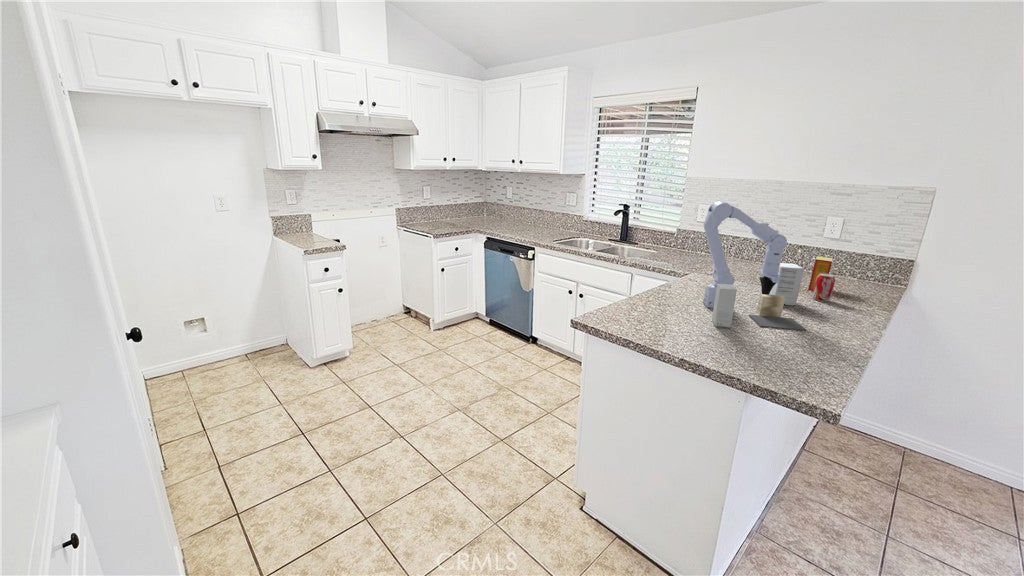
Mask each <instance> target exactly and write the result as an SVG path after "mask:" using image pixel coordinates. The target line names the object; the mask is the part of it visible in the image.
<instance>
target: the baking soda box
mask: <svg viewBox="0 0 1024 576" xmlns="http://www.w3.org/2000/svg"><path fill="white" fill-rule="evenodd" d="M832 263H833V258H832V257H828V256H827V257H826V256H818V255H816V258H815V261H814V264H813V268H812V272H811V276H810V280H809V284H808V289H807V290H808V291H810V290H812V292H813V289H814V285H815V281H816V278H817V276H818V275H819V274H820V273H826V274H830V271H831V267H832Z"/></svg>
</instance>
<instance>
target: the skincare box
mask: <svg viewBox="0 0 1024 576" xmlns="http://www.w3.org/2000/svg"><path fill="white" fill-rule="evenodd" d="M737 291H738V290H737V288H736V287H735V286H734V284H733V285H731V284H717V289H716V296H715V302H714V308H712V309H713V310H712V317H711V320H712V323H713V325H714V326H715V327H721V328H729V329H731V327H732V322H733V315H734V310H735V309H734V308H735V303H736V295H737Z"/></svg>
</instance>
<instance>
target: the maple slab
mask: <svg viewBox="0 0 1024 576" xmlns="http://www.w3.org/2000/svg"><path fill="white" fill-rule="evenodd" d="M784 301H785V298H784V297H783V296H778V295H765V294H762V293H760V295H759V299H758V304H757V309H756V313H757V314H758V315H759V316H771V317H782V313H783V309H784V306H785V305H784ZM757 314H756V315H757Z"/></svg>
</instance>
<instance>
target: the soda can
mask: <svg viewBox="0 0 1024 576" xmlns="http://www.w3.org/2000/svg"><path fill="white" fill-rule="evenodd" d="M835 284H836V279H835V275H834V274H832V273H829V274H826V273H820V274H819V275H818V276H817V278H816V281H815V285H814V289H813V291H812V296H811V298H812V299H813V300H814V299H815V300H814V301H817V300H818V301H817V302H821V301H823V302H822V303H826V302H829V301H831V298H832V294H833V291H834V288H835Z"/></svg>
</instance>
